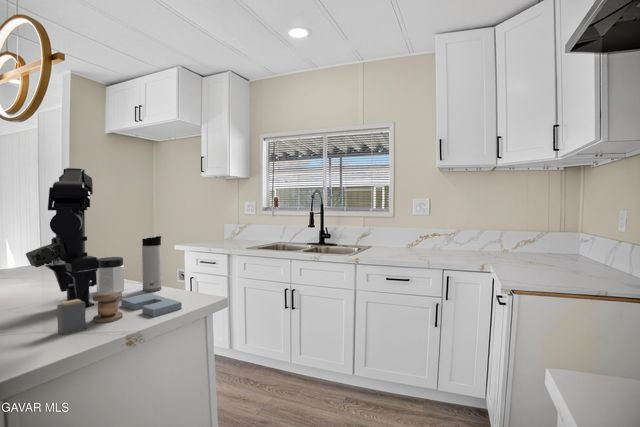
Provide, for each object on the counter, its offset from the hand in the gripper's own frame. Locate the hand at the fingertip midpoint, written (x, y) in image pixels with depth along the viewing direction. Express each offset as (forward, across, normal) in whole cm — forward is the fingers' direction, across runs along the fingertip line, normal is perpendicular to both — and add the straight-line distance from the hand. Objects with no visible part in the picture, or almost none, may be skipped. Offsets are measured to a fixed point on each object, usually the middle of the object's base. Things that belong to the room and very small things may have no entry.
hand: (71, 294), depth 87 cm
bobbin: (+9, -2, +9) cm, 13 cm away
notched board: (+9, -2, +22) cm, 24 cm away
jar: (+10, -31, +24) cm, 40 cm away
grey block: (+9, 0, 0) cm, 9 cm away
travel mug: (+10, -21, +34) cm, 41 cm away
